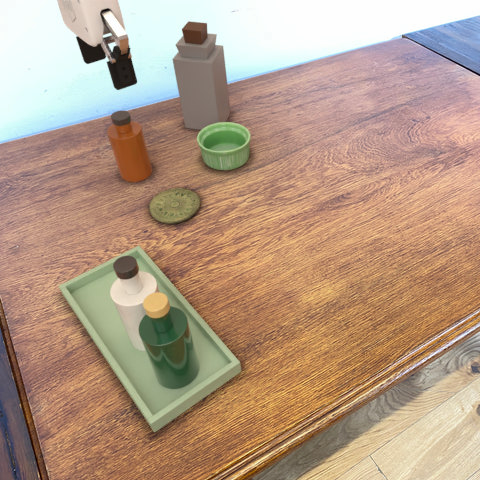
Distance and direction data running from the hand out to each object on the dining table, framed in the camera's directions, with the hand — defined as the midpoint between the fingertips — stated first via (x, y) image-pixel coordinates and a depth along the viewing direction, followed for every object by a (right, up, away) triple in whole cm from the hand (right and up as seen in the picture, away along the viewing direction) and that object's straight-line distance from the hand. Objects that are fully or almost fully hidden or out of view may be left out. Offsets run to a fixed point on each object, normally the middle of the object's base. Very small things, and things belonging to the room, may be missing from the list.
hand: (110, 73), depth 73 cm
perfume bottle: (+9, -1, +25) cm, 26 cm away
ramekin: (+14, -10, +16) cm, 23 cm away
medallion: (+7, -19, +7) cm, 21 cm away
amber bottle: (-1, -13, +13) cm, 18 cm away
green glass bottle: (+13, -39, -14) cm, 44 cm away
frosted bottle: (+9, -36, -10) cm, 38 cm away
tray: (+8, -35, -9) cm, 38 cm away
